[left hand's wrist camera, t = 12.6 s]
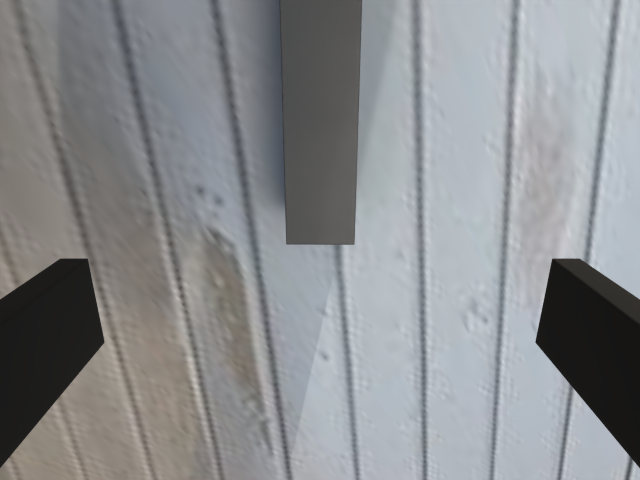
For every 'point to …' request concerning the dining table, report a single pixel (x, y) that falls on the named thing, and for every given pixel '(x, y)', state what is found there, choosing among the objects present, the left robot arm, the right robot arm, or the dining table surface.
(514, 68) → the dining table surface
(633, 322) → the left robot arm
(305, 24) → the post
